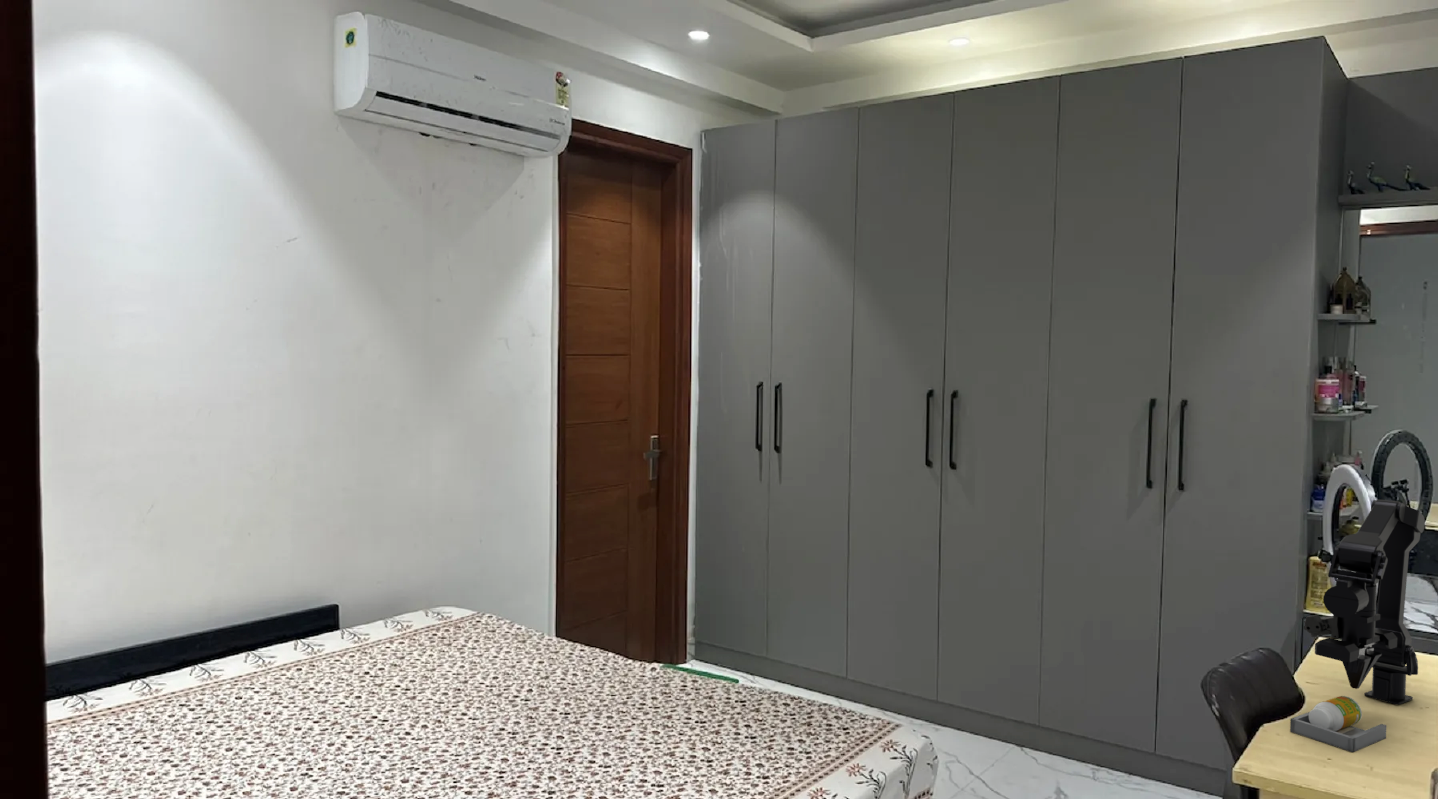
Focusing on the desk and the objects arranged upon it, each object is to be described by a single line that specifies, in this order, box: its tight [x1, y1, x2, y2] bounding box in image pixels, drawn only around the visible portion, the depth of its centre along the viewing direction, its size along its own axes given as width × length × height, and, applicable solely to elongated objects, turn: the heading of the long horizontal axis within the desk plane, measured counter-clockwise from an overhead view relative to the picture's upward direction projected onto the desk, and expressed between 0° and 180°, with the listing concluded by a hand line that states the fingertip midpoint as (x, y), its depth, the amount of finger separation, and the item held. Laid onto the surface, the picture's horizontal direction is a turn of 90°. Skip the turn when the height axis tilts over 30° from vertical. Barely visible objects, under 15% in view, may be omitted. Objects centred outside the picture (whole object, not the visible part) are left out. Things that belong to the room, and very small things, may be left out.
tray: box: [1289, 711, 1387, 753], centre depth 182 cm, size 12×11×2 cm
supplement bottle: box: [1309, 695, 1363, 731], centre depth 185 cm, size 5×5×10 cm
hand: (1354, 687), depth 186 cm, fingers closed
